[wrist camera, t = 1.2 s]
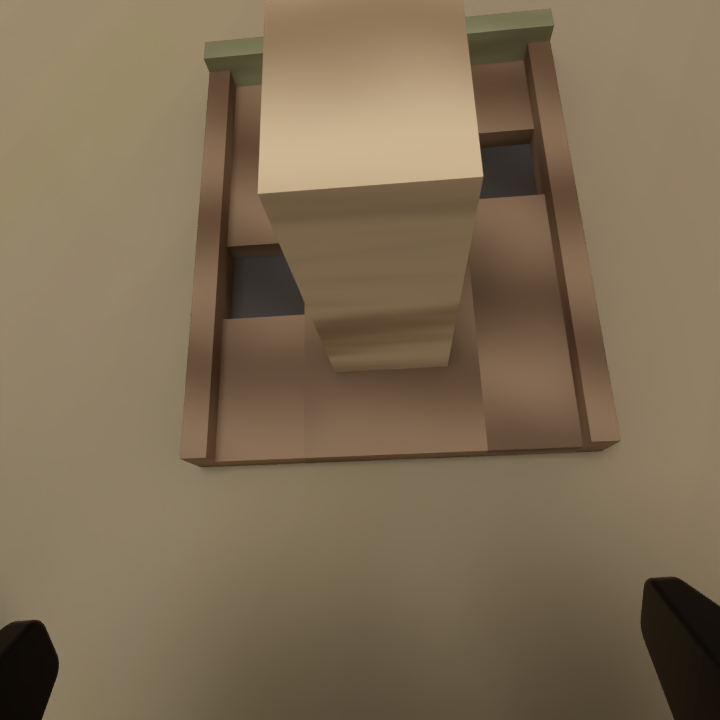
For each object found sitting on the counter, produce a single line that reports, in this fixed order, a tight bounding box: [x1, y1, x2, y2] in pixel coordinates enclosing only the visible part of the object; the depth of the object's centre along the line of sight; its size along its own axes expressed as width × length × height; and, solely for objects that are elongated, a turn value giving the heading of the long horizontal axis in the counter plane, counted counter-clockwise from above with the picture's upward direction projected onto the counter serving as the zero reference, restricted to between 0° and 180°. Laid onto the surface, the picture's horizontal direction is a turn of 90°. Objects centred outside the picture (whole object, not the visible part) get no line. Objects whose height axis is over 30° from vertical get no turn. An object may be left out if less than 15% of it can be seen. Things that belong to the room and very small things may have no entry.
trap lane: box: [180, 9, 621, 467], centre depth 24 cm, size 20×16×3 cm
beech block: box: [258, 0, 483, 372], centre depth 18 cm, size 6×4×12 cm
